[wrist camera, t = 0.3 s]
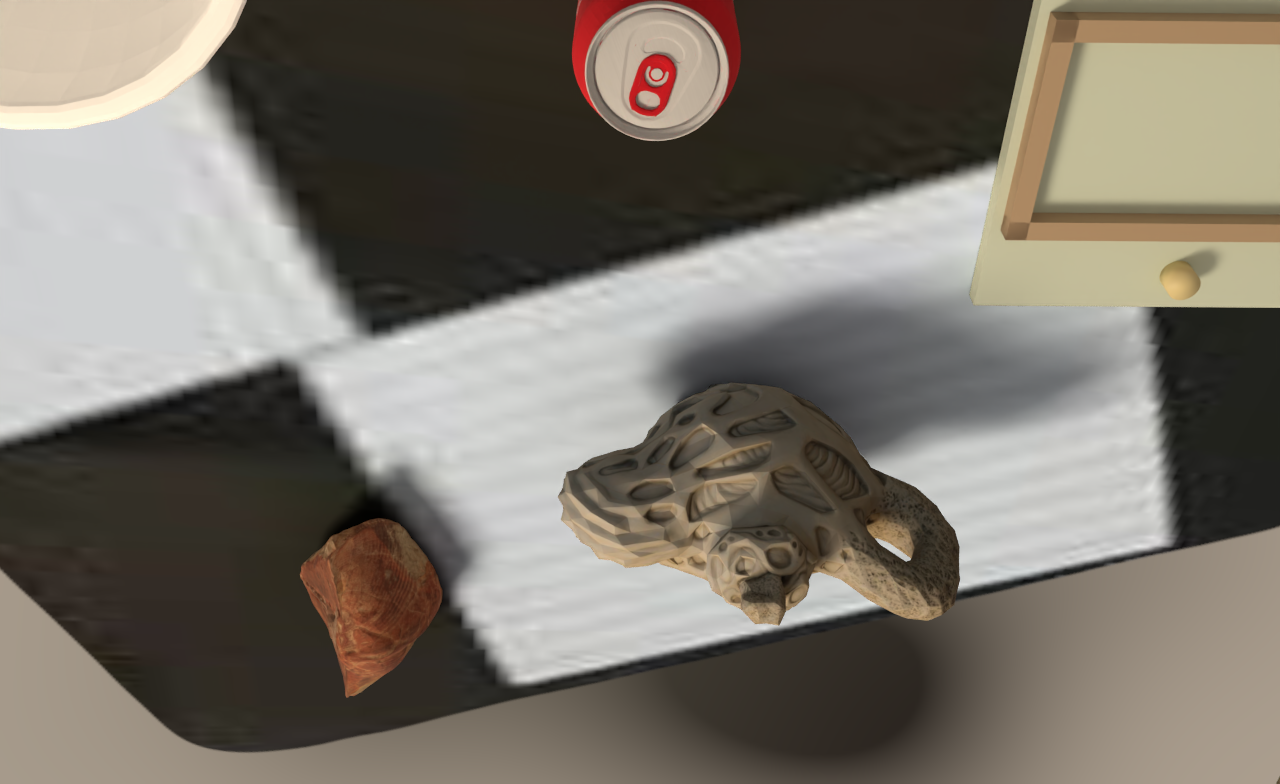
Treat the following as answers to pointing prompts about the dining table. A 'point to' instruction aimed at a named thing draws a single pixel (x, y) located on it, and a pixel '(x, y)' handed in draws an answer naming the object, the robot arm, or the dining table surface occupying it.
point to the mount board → (1139, 159)
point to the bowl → (101, 56)
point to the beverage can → (656, 62)
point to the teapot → (763, 507)
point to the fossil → (372, 597)
